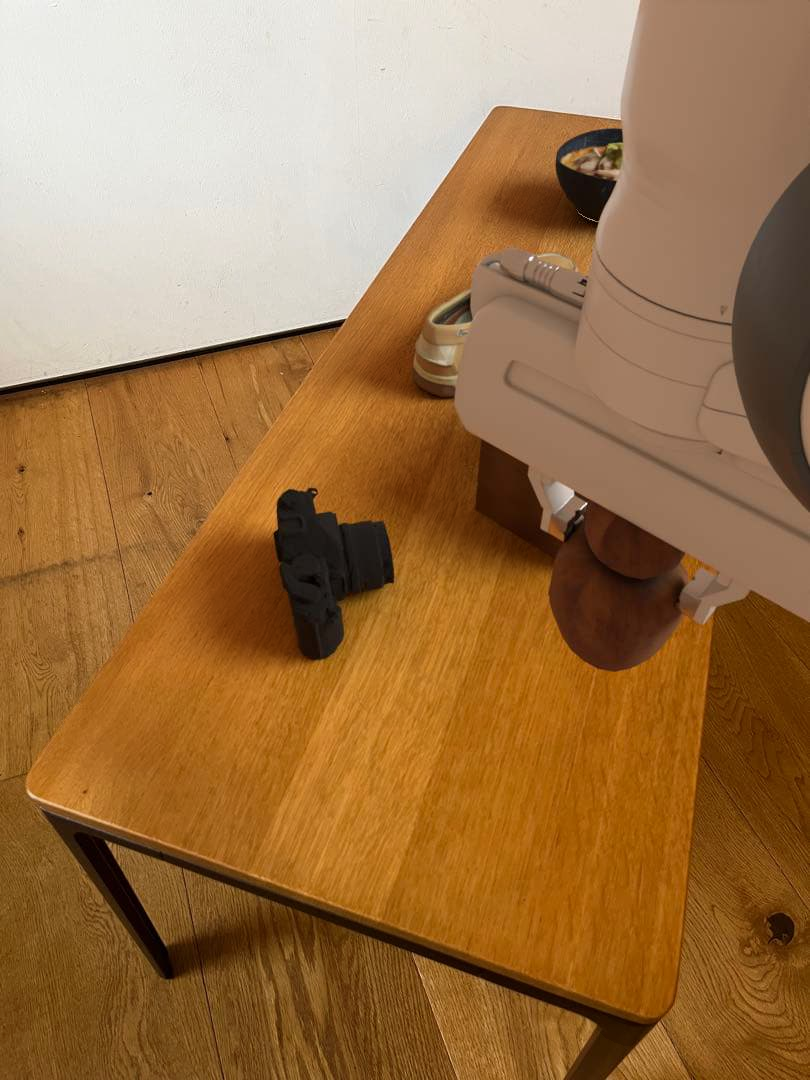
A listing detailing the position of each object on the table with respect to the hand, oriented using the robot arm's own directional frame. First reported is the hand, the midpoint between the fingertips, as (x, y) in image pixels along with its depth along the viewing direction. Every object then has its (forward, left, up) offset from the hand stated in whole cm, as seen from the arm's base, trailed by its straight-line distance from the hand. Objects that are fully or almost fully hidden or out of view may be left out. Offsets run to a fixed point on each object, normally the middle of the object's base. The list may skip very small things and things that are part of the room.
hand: (625, 567), depth 39 cm
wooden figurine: (0, 0, -6) cm, 6 cm away
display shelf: (+17, -28, -26) cm, 42 cm away
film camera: (+26, -3, -27) cm, 37 cm away
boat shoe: (+38, -43, -27) cm, 63 cm away
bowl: (+46, -79, -27) cm, 95 cm away
